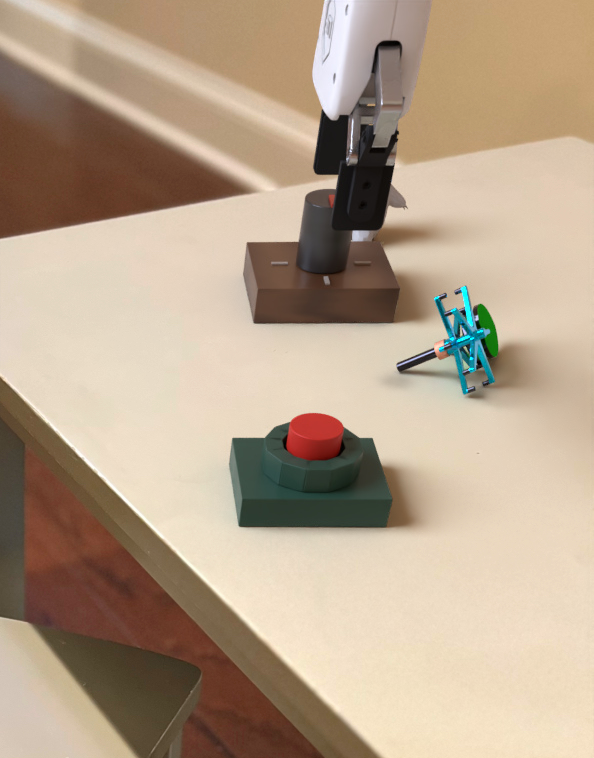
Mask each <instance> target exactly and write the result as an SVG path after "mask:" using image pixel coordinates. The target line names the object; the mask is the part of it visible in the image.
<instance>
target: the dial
mask: <svg viewBox="0 0 594 758" xmlns="http://www.w3.org/2000/svg"><path fill="white" fill-rule="evenodd" d="M335 191H336V188H320V189H315V190H312V191H310V192H307V193H306V194H305V196H304V202H303V208H302V215H301V221H300V227H299V236H298V241H297V242H298V249H297V255H296V265H297V266H298V267H299V268H301V269H303V270H305V271H308V272H312V273H319V274H329V273H336V272H339V271H341V270H343V269H344V268H345V267H346V266H347V261H348V255H349V250H350V244H351V241H352V233H353V231H336V230H334V229H333V228H332V226H331V215H332V209H333V203H334V197H335Z"/></svg>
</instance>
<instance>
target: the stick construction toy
mask: <svg viewBox="0 0 594 758" xmlns="http://www.w3.org/2000/svg"><path fill="white" fill-rule="evenodd" d="M453 293H454V295H456V296H458V295H460V294H462V300H463V305H464V306H463V307H461V308H458V307H457V306H456V307H453V308H451V309H449V310H446V308H445V306H444V303H443V301H442V300H445V299H446V298H447V299H448V294H447V292H443V293H440V294H439V295H436V296H434V297H433V300H434V303H435V306H436V308H437V311H438V314H439V316H440V319H441V321H442V324H443V327H444V329H445V331H446V334H447V337H448V338H444V339H441V340H439V341H436V342H434V345H433V347H432V348H430V349H427V350H425V351H423V352H420V353H417V354H415V355H413V356H410V357H408V358H405V359H403V360H400V361H398V362H397V363H396V365H395V367H396V369H397V372H399V373H402V372H404V371H406V370H409V369H412V368H414V367H416V366H417V367H418V366H419V365H421V364H424V363H426V362H429V361H431V360H434V359H436V358H437V359H438V360H439V361H442V360H445V359H447V358H449V357H451V356H452V355H453V357H454V360H455V365H456V370H457V374H458V379H459V384H460V387H461V392H462V395H464V396H466V395H469V394H471V393H473V392H476V390H477V388H476V386H475V385H472V386H470V387H469V386H468V380H467V375H470V374H472V373H475V372H476V371H477V370H481V369H482V368H483V371H484V372H485V373H484V374H485V375H486V378H487V380H484V381H482V382H481V385H482V387H486V386H489V385H492V384H495V383H496V378H495V376H494V373H493V370H492V368H491V365H490V363H489V360H492V359H494V358H497V357H498V356H499V338H498V333H497V332H498V331H497V328H496V324H495V321H494V319H493V317H492V315H491V313H490V312H489V310H488V308H487V307H486V306H485V305H484V304H483V303H478V304H476V305H472V302H471V296H470V293H469V289H468V286H467V285H463V286H460V287H459V288H456V289H454V290H453ZM452 315H453V324H452V322H451V319H450V316H452ZM461 333H462V335H461ZM488 359H489V360H488ZM464 363H465V364H466V365H467V367H468V368H466V369H465V366H464Z"/></svg>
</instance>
